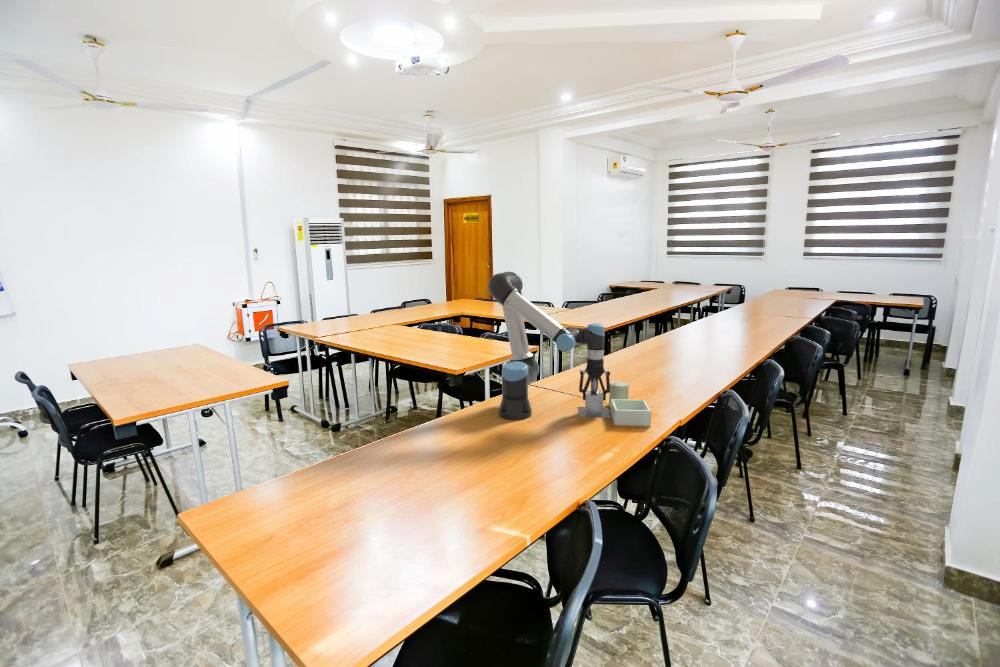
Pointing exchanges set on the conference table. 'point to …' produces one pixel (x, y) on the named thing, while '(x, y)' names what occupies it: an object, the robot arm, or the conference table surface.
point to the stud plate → (583, 413)
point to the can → (618, 390)
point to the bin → (630, 412)
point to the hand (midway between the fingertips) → (593, 406)
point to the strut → (594, 399)
